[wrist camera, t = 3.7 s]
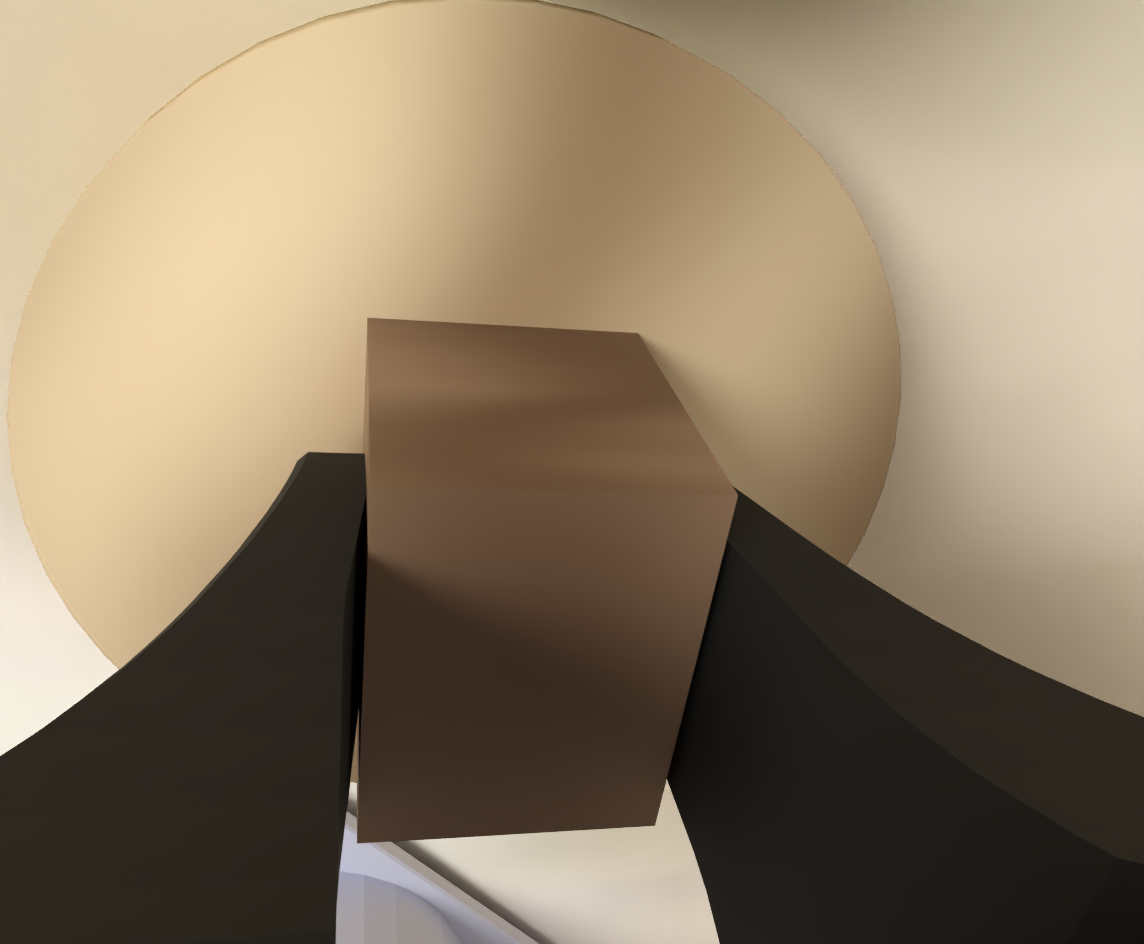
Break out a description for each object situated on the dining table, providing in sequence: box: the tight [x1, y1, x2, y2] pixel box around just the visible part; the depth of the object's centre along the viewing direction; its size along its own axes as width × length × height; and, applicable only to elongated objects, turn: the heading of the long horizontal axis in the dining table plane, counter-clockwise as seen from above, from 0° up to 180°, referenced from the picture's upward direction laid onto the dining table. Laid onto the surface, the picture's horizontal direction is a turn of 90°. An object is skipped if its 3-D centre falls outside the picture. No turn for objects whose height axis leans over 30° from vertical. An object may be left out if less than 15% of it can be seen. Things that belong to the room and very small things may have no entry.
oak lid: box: [7, 0, 901, 844], centre depth 11 cm, size 10×10×4 cm
